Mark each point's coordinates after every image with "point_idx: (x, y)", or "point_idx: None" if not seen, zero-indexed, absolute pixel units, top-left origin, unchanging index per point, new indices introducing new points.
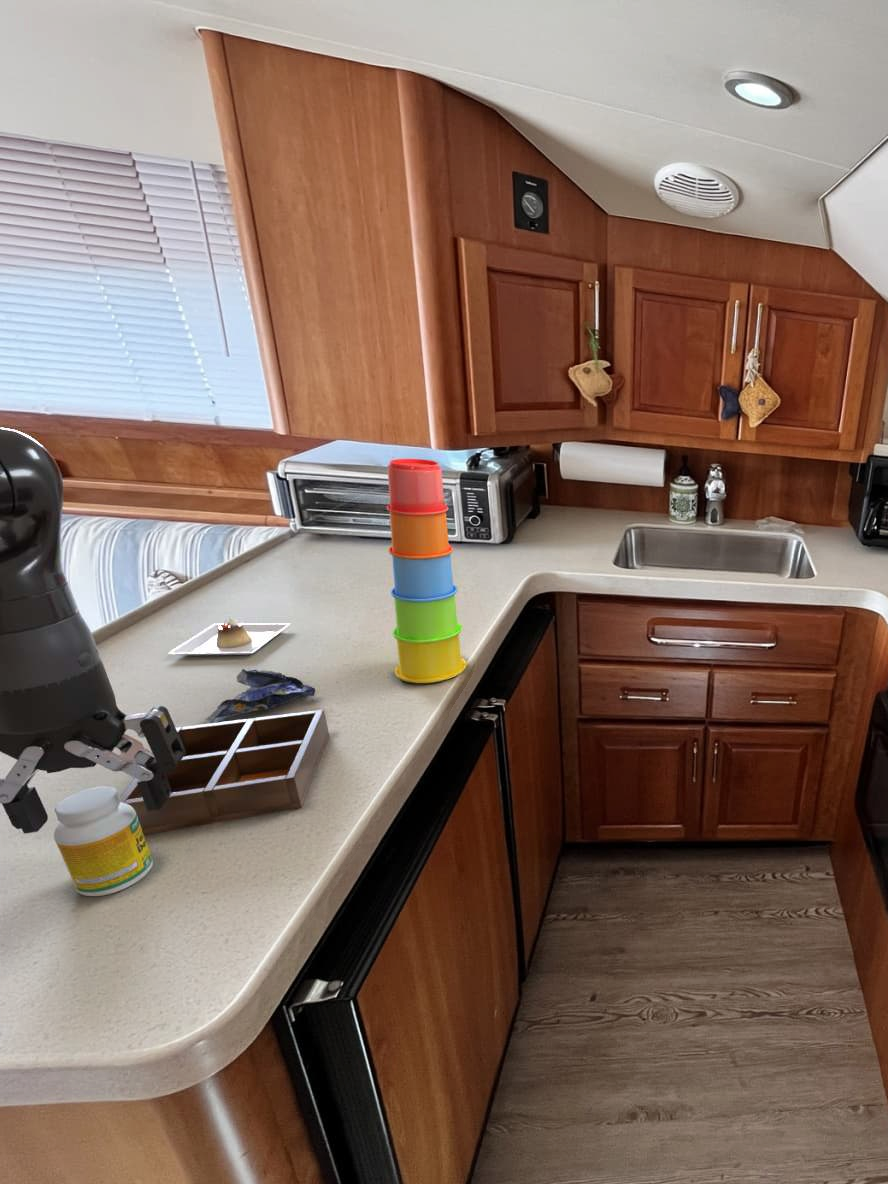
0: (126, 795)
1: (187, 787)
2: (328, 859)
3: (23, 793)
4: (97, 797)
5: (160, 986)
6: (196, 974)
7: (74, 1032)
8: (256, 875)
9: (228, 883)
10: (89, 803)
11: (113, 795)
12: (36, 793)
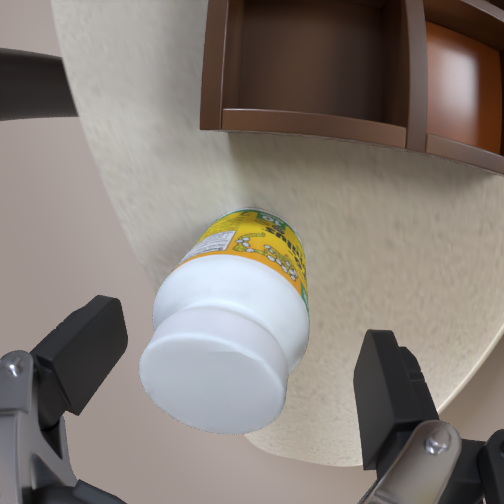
0: (215, 86)
1: (297, 4)
2: (498, 326)
3: (57, 392)
4: (236, 397)
5: (343, 435)
6: None
7: (289, 448)
8: (435, 329)
9: (406, 333)
10: (227, 414)
11: (281, 404)
12: (67, 351)
